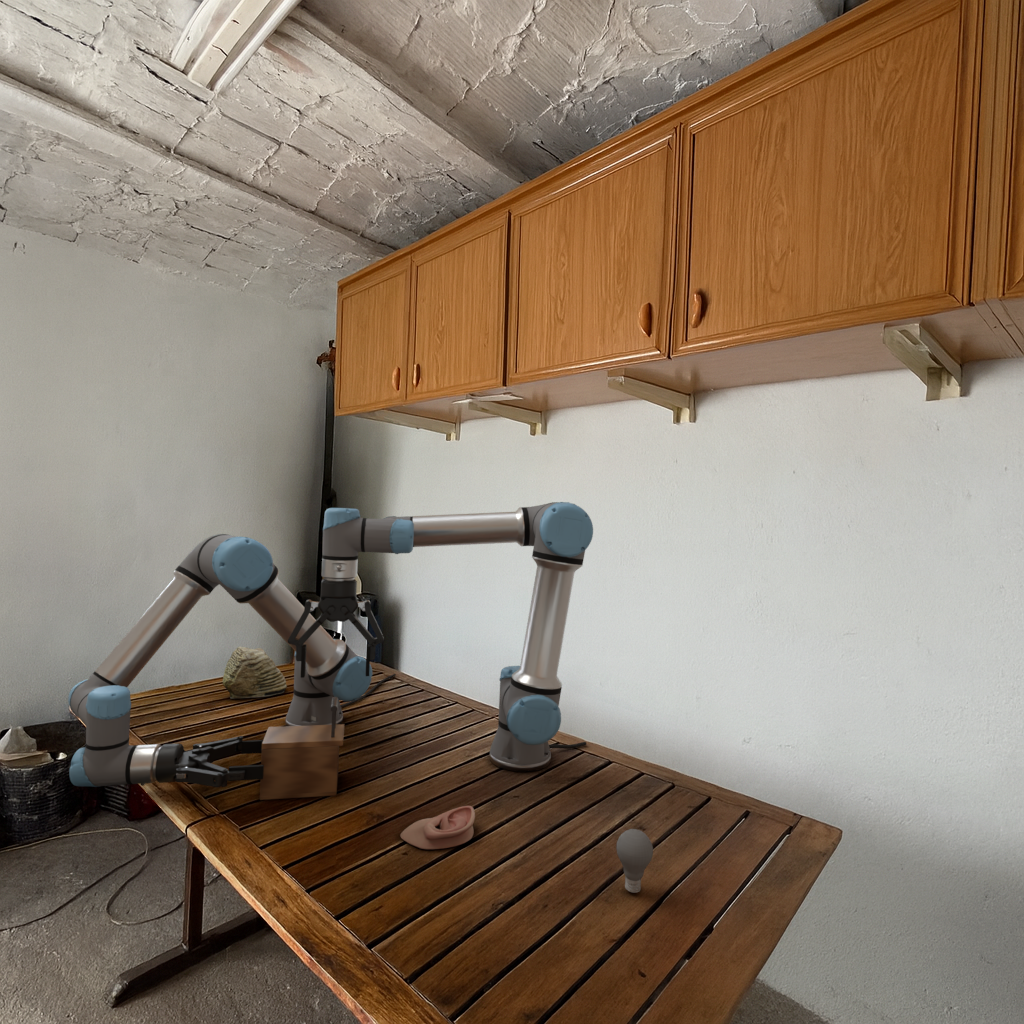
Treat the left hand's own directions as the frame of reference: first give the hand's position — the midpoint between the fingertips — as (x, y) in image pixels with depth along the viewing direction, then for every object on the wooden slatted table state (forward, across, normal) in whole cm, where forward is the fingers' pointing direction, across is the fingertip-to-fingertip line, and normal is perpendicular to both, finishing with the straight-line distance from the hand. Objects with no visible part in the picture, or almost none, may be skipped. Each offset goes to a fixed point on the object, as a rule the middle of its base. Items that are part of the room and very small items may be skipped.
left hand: (268, 758), depth 136 cm
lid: (+7, 0, +4) cm, 8 cm away
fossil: (-13, -67, -7) cm, 69 cm away
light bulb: (+64, +46, -7) cm, 79 cm away
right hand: (+13, 0, +18) cm, 22 cm away
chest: (+7, 0, -7) cm, 10 cm away
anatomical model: (+34, +24, -7) cm, 42 cm away
